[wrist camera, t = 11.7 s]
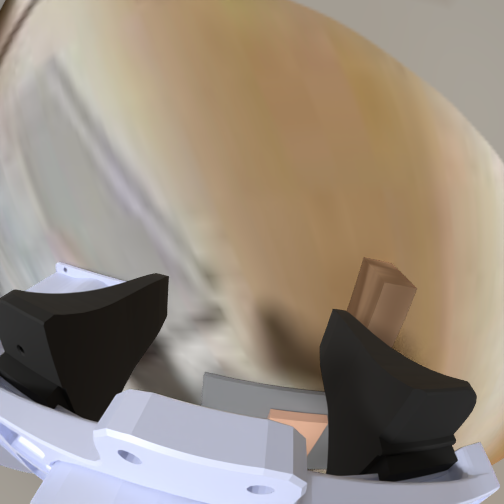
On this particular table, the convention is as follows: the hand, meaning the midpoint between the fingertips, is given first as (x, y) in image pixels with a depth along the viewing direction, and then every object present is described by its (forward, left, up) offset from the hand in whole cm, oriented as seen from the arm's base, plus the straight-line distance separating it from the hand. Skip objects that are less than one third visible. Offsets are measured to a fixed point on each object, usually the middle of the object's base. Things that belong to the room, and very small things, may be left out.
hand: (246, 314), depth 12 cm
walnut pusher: (+9, -4, -10) cm, 14 cm away
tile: (+7, -16, -8) cm, 19 cm away
